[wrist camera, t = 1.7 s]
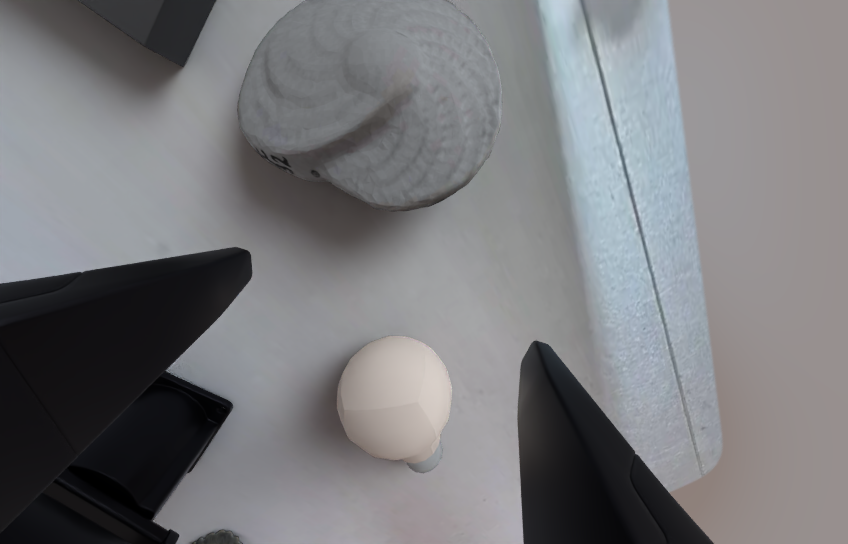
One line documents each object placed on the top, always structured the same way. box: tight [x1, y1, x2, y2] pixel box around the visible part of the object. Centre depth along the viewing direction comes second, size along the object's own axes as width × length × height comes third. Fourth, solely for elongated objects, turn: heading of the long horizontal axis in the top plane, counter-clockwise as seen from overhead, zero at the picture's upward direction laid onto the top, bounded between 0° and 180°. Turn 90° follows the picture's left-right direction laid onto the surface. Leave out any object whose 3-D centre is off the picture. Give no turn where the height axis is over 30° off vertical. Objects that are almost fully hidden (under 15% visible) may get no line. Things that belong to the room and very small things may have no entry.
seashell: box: [237, 0, 502, 211], centre depth 14 cm, size 12×6×10 cm
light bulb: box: [336, 336, 452, 473], centre depth 19 cm, size 7×7×11 cm
